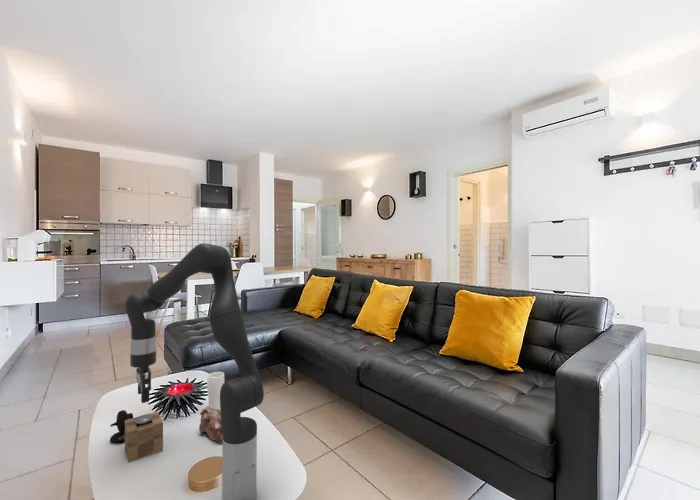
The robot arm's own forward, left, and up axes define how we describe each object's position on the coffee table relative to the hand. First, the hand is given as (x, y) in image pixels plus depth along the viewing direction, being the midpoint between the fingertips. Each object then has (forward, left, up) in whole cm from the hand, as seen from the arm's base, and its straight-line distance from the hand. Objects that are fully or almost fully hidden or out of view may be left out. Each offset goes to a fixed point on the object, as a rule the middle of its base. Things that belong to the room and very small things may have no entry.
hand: (143, 397), depth 112 cm
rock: (-5, -23, -18) cm, 30 cm away
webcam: (+12, +5, -18) cm, 22 cm away
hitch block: (0, 0, -18) cm, 18 cm away
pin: (0, 0, -18) cm, 18 cm away
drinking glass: (+13, -28, -18) cm, 36 cm away
